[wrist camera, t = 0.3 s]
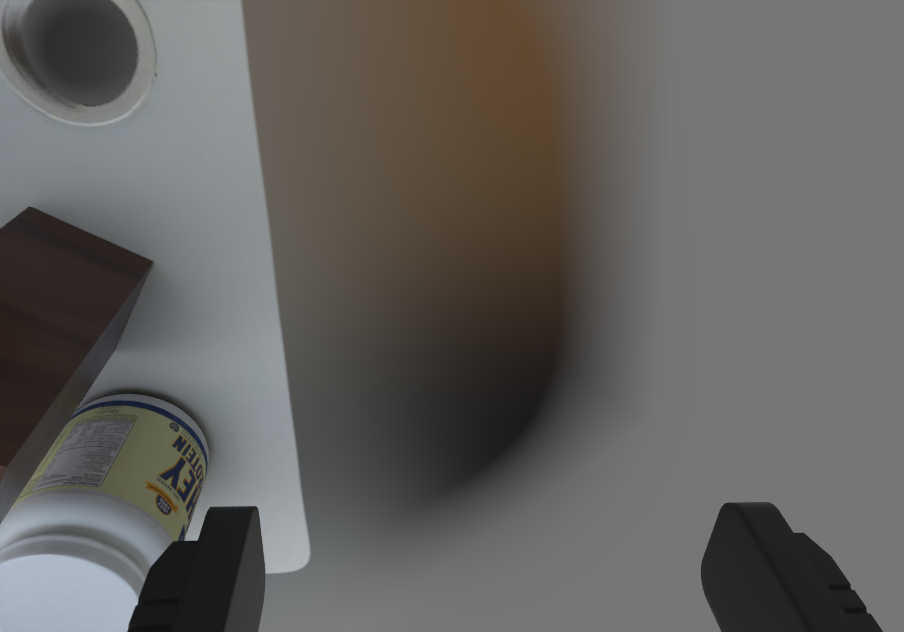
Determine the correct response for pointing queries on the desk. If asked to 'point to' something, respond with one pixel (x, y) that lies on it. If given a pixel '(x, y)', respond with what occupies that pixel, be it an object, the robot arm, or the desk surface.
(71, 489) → the supplement tub
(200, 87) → the desk surface
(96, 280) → the plant stand
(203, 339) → the desk surface
